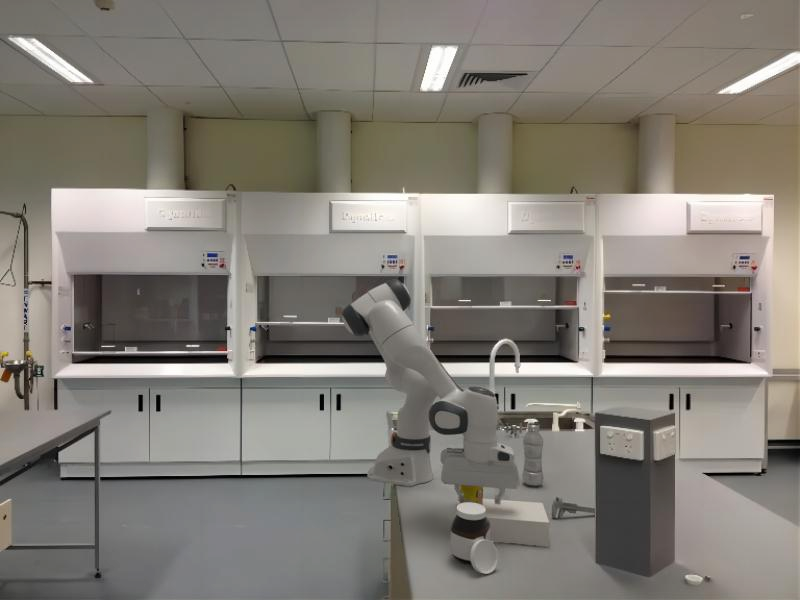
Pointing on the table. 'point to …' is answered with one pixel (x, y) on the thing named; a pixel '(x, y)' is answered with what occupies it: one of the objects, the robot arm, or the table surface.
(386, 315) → the robot arm
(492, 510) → the sleeve
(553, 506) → the caliper
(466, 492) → the supplement bottle
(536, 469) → the plastic bottle
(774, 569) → the table surface
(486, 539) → the spread jar
